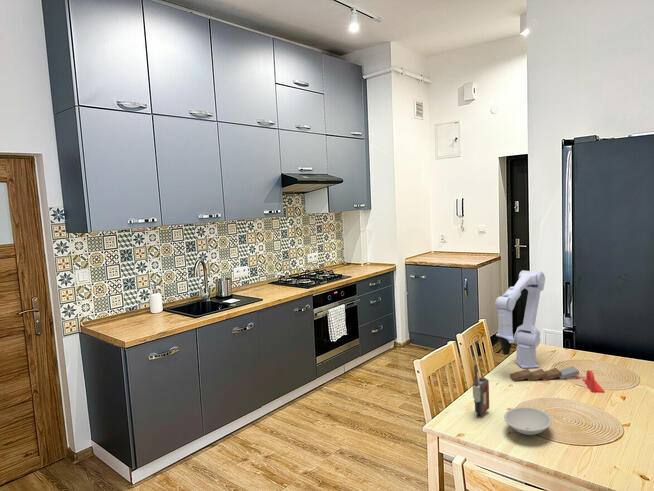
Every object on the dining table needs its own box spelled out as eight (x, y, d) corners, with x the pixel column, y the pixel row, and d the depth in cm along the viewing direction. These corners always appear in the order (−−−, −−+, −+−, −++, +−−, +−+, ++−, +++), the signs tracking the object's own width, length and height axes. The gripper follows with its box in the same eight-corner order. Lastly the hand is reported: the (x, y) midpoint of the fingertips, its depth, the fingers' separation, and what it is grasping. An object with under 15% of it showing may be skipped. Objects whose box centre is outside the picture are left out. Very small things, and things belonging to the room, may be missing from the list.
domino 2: (542, 377, 189) (561, 372, 188) (537, 373, 194) (555, 367, 193) (543, 381, 189) (562, 375, 188) (538, 376, 194) (556, 371, 193)
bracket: (604, 394, 174) (604, 374, 173) (591, 393, 175) (591, 374, 174) (594, 382, 185) (594, 363, 185) (582, 381, 187) (582, 363, 186)
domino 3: (566, 377, 189) (585, 377, 188) (560, 373, 194) (579, 372, 193) (566, 381, 189) (585, 380, 188) (560, 376, 194) (579, 376, 193)
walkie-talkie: (479, 420, 159) (477, 366, 157) (467, 416, 162) (466, 363, 160) (490, 411, 165) (488, 359, 163) (478, 408, 168) (477, 356, 166)
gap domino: (559, 376, 189) (578, 370, 188) (554, 371, 194) (572, 366, 193) (560, 379, 189) (579, 374, 188) (555, 375, 194) (573, 369, 193)
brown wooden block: (513, 378, 190) (531, 373, 189) (509, 373, 195) (527, 368, 194) (514, 381, 190) (533, 376, 189) (510, 377, 195) (528, 372, 194)
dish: (513, 416, 160) (513, 402, 160) (557, 427, 151) (557, 413, 151) (497, 437, 147) (496, 423, 146) (544, 450, 138) (543, 435, 137)
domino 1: (527, 378, 189) (546, 373, 188) (523, 373, 194) (541, 368, 193) (528, 381, 190) (547, 376, 188) (524, 377, 194) (542, 372, 193)
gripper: (490, 320, 201) (491, 349, 202) (501, 329, 186) (502, 360, 188) (506, 319, 200) (506, 348, 202) (518, 328, 186) (519, 359, 187)
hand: (506, 354), depth 195 cm, fingers closed
